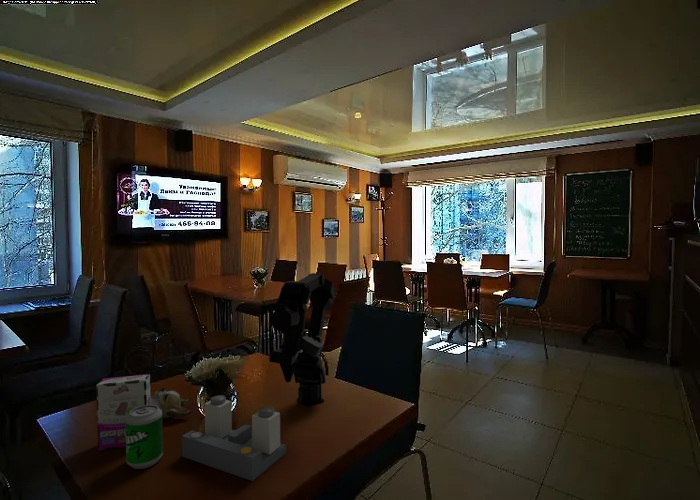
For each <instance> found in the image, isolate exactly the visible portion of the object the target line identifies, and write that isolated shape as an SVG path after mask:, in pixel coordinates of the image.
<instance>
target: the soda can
mask: <svg viewBox="0 0 700 500" xmlns="http://www.w3.org/2000/svg"><path fill="white" fill-rule="evenodd" d="M125 425H126V447H125V457H126V458H125V459H126V460H125V463H126V464H127V466H130V467H131V468H133V469H135V470H142V469H146V468H149V467H152V466H154V465H155V464H156V463H158V462H159V460H160V459H161V458H162V456H164V455H163V454H164V448H163V447H164V446H163V445H164V444H163V442H164V441H163V439H164V438H163V436H164V435H163V418H162V410H161V409H159V408H158V407H157V406H155V405H145V406H140V407H137V408H135V409H133V410H131V411H130V413H129V414H128V415H127V416H126V419H125Z"/></svg>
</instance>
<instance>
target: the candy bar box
mask: <svg viewBox="0 0 700 500" xmlns="http://www.w3.org/2000/svg"><path fill="white" fill-rule="evenodd" d="M95 387H96V390H95V391H96V418H97V419H96V420H97V423H96V424H97V450H98V451H99V452H100V451H109V450H116V449H121V448H126V425H125V419H126V416H127V415H128V414H129V413H130V411H131V410H133V409H135V408H137V407H140V406H145V405H151V396H152V395H151V374H149V373H148V374H138V375H129V376H128V375H126V376H117V377H108V378H107V377H106V378H102V379H101V380H100V381H99V382H98V383H97V384H96V385H95Z"/></svg>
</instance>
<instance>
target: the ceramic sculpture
mask: <svg viewBox="0 0 700 500" xmlns="http://www.w3.org/2000/svg"><path fill="white" fill-rule="evenodd" d="M192 400H193V398H187V399H183V398H182V397H181V395H180V394H179V393H178V392H177V391H175V390H166V388H165V387H164V388H159V389H158V390H156V391H155V392H154V394H153V395H151V405H155V406H157V407H158V408H159V409H161V410H162V419H167V418H168V419H169V418H174V419H180V418H183V417H186V416H189V415H190V414H192V413H193V412H194V411H193V410H189V409H187V408H186V407H184V406H186V405H187V404H188V403H190V402H191V401H192Z"/></svg>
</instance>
